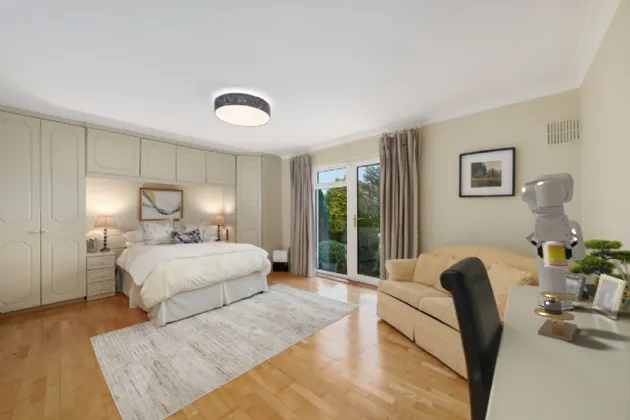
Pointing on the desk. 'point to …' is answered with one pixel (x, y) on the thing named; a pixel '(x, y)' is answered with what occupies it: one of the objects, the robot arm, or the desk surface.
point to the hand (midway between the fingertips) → (554, 258)
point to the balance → (556, 317)
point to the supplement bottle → (554, 254)
